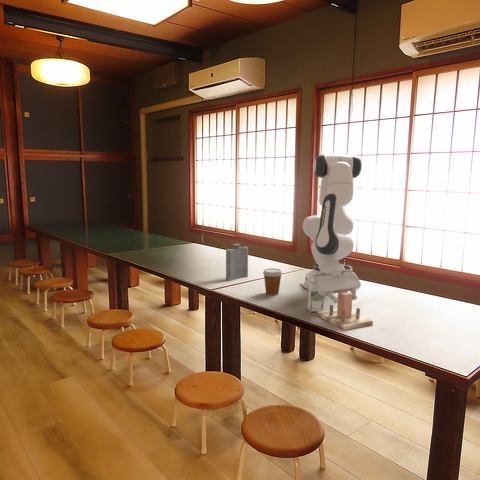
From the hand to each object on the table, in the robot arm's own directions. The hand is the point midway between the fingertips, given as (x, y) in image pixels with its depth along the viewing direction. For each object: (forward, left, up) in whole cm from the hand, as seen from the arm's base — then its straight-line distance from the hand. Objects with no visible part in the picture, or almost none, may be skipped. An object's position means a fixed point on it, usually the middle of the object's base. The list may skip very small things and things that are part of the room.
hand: (345, 300), depth 167 cm
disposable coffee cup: (-46, -9, -9) cm, 47 cm away
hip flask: (-81, -13, -9) cm, 82 cm away
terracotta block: (-1, 0, -7) cm, 7 cm away
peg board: (-1, 0, -8) cm, 8 cm away
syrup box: (-16, -4, -9) cm, 18 cm away
